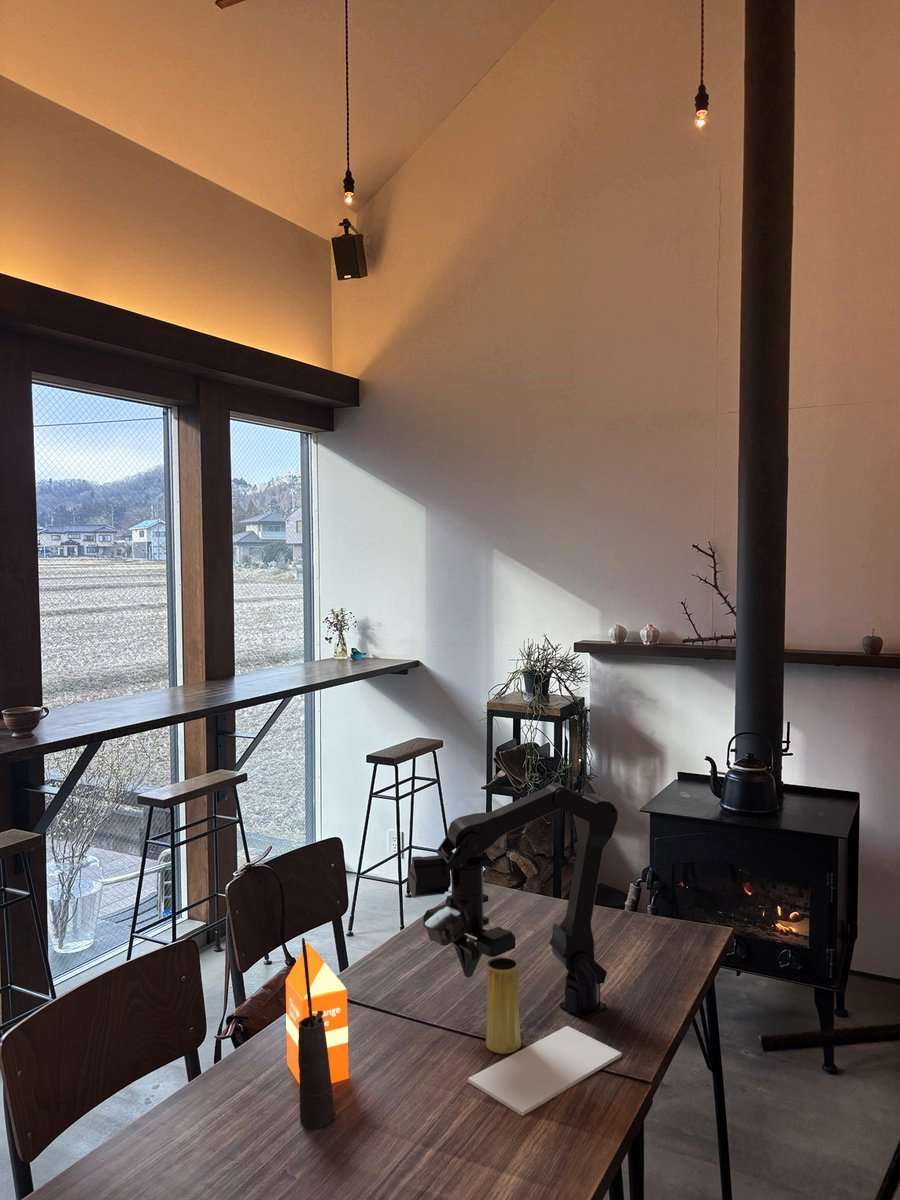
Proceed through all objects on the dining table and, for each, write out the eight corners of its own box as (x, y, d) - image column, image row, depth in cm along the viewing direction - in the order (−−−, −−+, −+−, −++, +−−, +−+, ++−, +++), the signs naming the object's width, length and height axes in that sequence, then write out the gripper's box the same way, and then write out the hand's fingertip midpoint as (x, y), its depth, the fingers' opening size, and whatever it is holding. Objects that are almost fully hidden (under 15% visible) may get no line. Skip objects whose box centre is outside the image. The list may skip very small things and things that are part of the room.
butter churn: (321, 1088, 141) (318, 914, 140) (364, 1111, 135) (361, 929, 134) (276, 1116, 134) (272, 933, 133) (319, 1142, 128) (315, 950, 127)
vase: (524, 1038, 155) (524, 958, 154) (515, 1057, 149) (515, 973, 149) (491, 1033, 157) (490, 953, 156) (481, 1051, 151) (480, 968, 151)
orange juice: (303, 1091, 140) (300, 966, 139) (286, 1064, 148) (284, 946, 147) (349, 1078, 143) (347, 956, 143) (331, 1052, 151) (329, 936, 151)
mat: (567, 1029, 158) (567, 1025, 158) (621, 1056, 149) (621, 1052, 149) (467, 1082, 142) (467, 1078, 142) (522, 1116, 133) (522, 1112, 133)
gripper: (399, 888, 160) (400, 973, 161) (469, 917, 146) (471, 1010, 147) (446, 873, 168) (447, 954, 168) (517, 900, 154) (518, 988, 154)
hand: (468, 976), depth 159 cm, fingers closed
